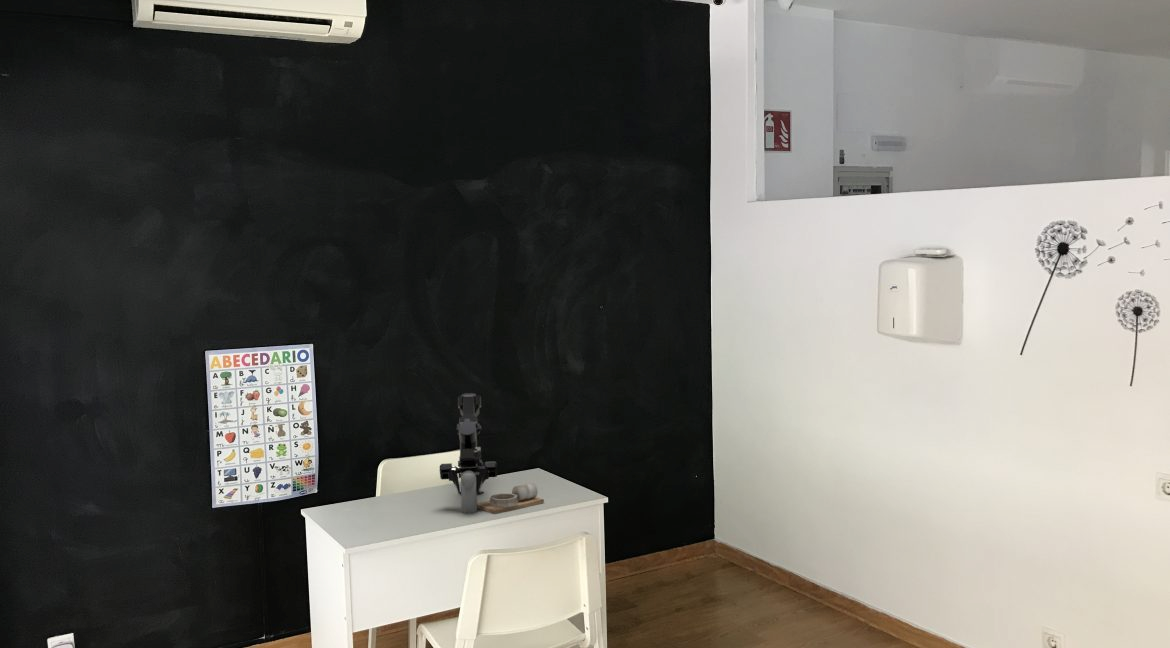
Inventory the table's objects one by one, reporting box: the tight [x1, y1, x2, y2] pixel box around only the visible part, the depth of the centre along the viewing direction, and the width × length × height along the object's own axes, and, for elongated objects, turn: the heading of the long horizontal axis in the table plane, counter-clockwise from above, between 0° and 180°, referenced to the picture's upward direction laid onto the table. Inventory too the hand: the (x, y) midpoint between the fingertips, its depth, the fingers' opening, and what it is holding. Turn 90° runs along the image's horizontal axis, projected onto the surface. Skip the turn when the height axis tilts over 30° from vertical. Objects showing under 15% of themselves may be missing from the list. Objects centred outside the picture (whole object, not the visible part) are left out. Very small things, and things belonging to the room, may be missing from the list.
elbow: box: [460, 470, 478, 514], centre depth 294 cm, size 7×5×14 cm
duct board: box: [477, 482, 545, 515], centre depth 302 cm, size 12×20×6 cm, turn 130°
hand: (468, 492), depth 293 cm, fingers open, 6 cm apart
